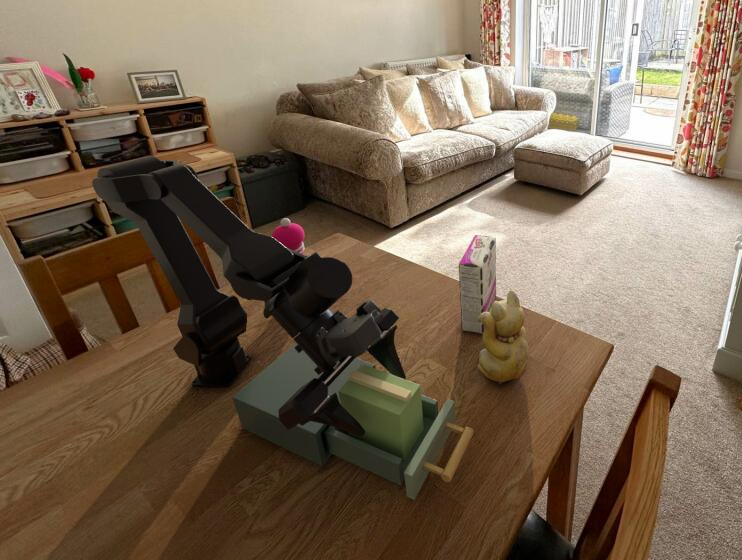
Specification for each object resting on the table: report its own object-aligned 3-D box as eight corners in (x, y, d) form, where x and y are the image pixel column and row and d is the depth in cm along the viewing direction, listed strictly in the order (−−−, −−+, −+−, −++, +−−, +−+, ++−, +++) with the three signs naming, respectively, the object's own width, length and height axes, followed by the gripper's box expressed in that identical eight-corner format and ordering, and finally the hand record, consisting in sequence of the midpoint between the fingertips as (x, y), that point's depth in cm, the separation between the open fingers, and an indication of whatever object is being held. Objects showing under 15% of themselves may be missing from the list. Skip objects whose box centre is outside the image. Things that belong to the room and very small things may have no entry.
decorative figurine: (503, 342, 79) (505, 278, 73) (539, 362, 75) (543, 296, 69) (471, 375, 72) (470, 307, 66) (508, 400, 67) (511, 329, 62)
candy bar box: (475, 296, 92) (474, 233, 86) (496, 299, 91) (497, 236, 85) (459, 331, 81) (457, 262, 75) (483, 335, 81) (483, 266, 74)
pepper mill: (309, 309, 86) (293, 227, 79) (276, 308, 86) (256, 226, 79) (324, 288, 93) (310, 211, 85) (293, 287, 93) (276, 210, 86)
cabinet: (379, 394, 68) (375, 364, 65) (322, 466, 57) (315, 434, 54) (307, 366, 73) (301, 337, 70) (242, 428, 62) (232, 397, 59)
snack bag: (404, 461, 56) (398, 410, 52) (346, 435, 59) (337, 386, 55) (424, 429, 60) (420, 380, 56) (368, 406, 63) (361, 359, 60)
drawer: (480, 432, 61) (480, 410, 59) (442, 513, 51) (441, 489, 49) (377, 393, 67) (374, 371, 65) (325, 459, 57) (320, 435, 55)
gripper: (277, 351, 44) (370, 455, 45) (383, 262, 61) (450, 339, 61) (242, 382, 50) (325, 474, 50) (348, 293, 66) (410, 363, 67)
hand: (385, 405), depth 57 cm, fingers open, 9 cm apart
